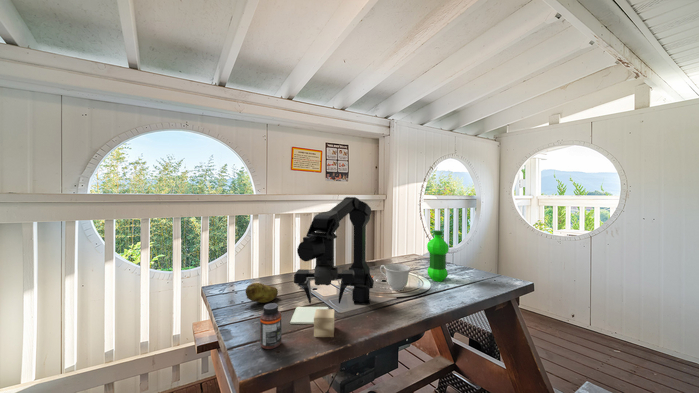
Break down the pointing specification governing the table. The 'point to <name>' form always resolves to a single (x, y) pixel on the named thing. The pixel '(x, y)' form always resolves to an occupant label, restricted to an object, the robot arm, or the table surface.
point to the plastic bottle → (437, 257)
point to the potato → (261, 292)
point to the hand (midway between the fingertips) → (324, 303)
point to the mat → (304, 315)
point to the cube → (324, 323)
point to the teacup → (396, 275)
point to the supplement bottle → (270, 326)
